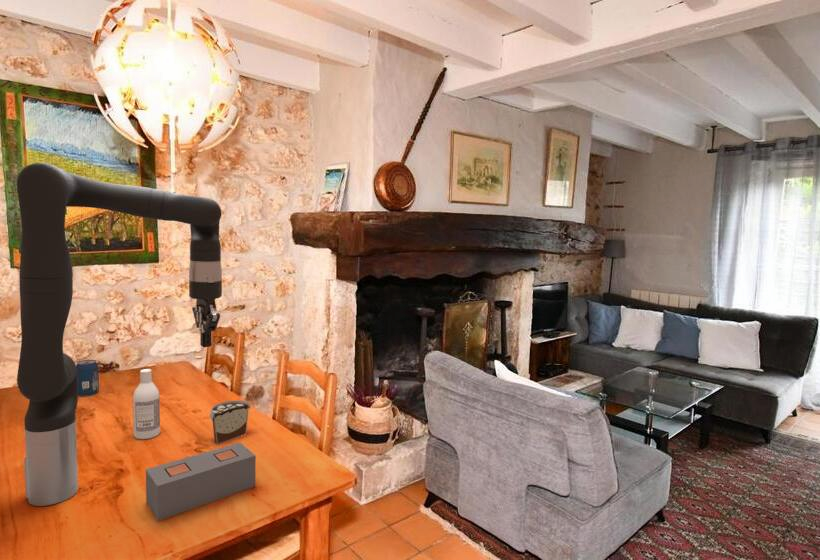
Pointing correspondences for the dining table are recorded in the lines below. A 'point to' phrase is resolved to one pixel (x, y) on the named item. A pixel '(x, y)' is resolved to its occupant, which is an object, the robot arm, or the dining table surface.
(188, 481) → the guide block
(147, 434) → the bath foam
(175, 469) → the peg near
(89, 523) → the dining table surface
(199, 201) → the robot arm
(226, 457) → the peg far
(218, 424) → the half cake
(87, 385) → the soda can
